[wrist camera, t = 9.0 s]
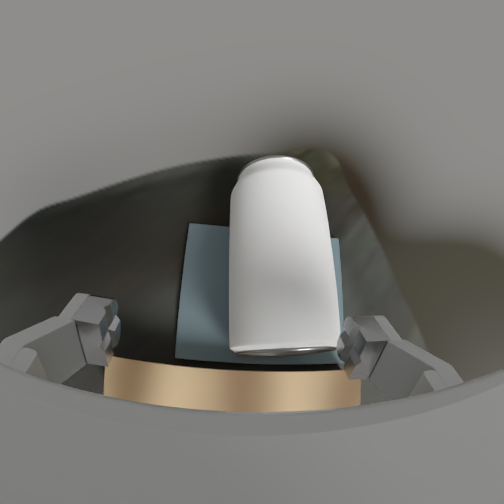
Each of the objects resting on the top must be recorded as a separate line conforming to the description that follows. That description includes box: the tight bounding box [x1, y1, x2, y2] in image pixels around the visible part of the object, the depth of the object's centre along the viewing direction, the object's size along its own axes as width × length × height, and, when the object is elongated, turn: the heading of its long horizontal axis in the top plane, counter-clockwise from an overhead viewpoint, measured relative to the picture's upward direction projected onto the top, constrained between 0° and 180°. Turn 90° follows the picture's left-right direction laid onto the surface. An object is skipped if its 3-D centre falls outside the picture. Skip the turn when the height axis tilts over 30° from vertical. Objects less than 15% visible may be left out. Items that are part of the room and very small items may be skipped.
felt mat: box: [175, 223, 344, 364], centre depth 21 cm, size 12×10×1 cm
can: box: [229, 155, 341, 357], centre depth 18 cm, size 6×6×12 cm
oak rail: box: [104, 356, 361, 412], centre depth 17 cm, size 16×3×3 cm, turn 88°
